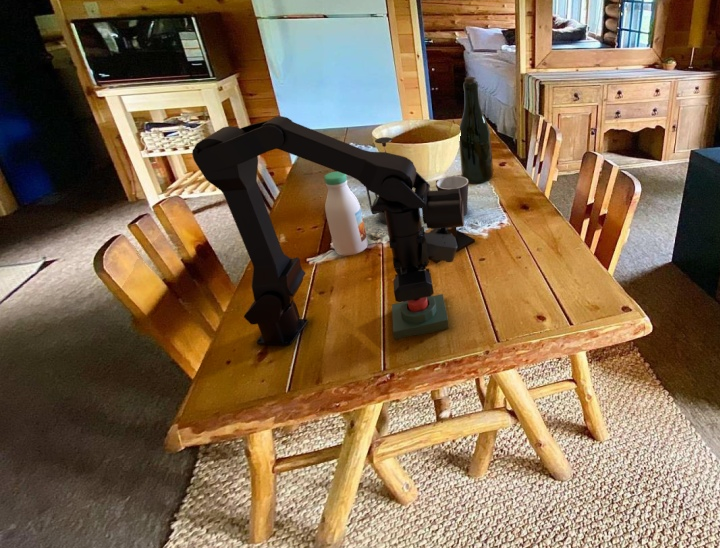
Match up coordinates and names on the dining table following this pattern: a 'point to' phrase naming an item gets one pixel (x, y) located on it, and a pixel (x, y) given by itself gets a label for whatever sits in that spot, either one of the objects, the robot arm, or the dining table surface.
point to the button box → (419, 318)
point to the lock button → (418, 304)
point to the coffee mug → (453, 183)
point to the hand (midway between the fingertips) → (416, 298)
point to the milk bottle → (344, 216)
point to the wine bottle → (474, 138)
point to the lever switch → (458, 240)
